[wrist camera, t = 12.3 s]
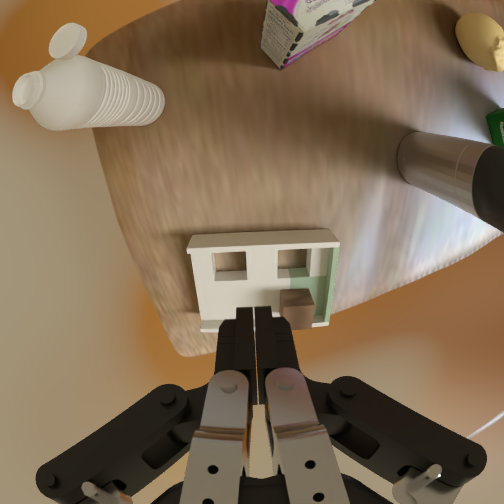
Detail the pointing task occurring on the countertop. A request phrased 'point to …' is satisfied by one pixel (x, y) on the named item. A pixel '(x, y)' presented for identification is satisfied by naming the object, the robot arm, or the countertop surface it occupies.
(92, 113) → the water bottle
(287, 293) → the walnut block
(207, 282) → the track
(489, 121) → the milk carton
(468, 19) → the sculpture
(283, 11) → the candy bar box
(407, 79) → the countertop surface
